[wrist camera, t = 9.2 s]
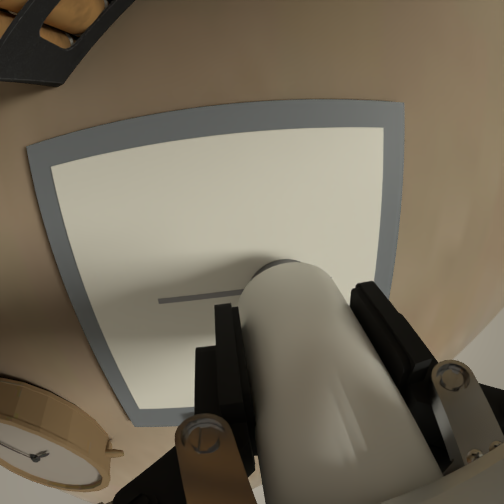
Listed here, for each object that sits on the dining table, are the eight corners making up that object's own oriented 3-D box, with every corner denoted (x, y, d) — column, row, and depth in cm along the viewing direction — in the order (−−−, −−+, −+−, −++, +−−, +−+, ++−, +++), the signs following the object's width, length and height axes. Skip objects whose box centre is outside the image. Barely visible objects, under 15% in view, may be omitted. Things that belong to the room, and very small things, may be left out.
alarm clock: (95, 501, 18) (-66, 445, 11) (93, 454, 22) (-55, 399, 15) (136, 464, 15) (-98, 375, 8) (131, 399, 19) (-70, 316, 12)
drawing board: (397, 102, 11) (415, 103, 9) (363, 391, 18) (370, 406, 17) (32, 144, 10) (15, 150, 8) (135, 420, 17) (133, 437, 16)
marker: (332, 238, 12) (532, 552, 1) (328, 321, 14) (441, 584, 3) (226, 251, 12) (289, 662, 1) (237, 335, 14) (285, 634, 3)
